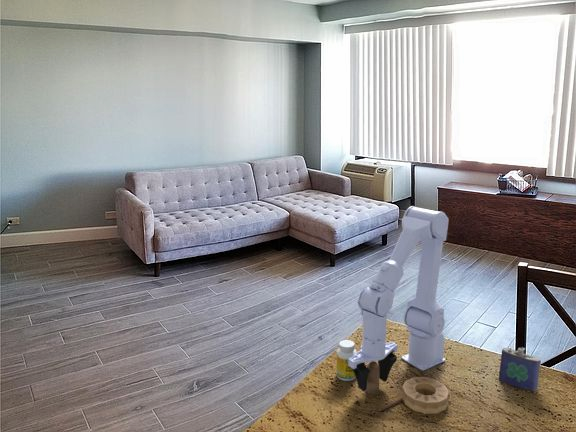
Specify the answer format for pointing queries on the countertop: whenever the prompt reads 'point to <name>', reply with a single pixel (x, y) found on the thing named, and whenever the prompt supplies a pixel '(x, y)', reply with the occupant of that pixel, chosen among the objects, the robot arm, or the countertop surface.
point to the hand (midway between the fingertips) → (372, 384)
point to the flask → (519, 369)
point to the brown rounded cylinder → (373, 378)
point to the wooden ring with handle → (423, 403)
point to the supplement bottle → (345, 360)
